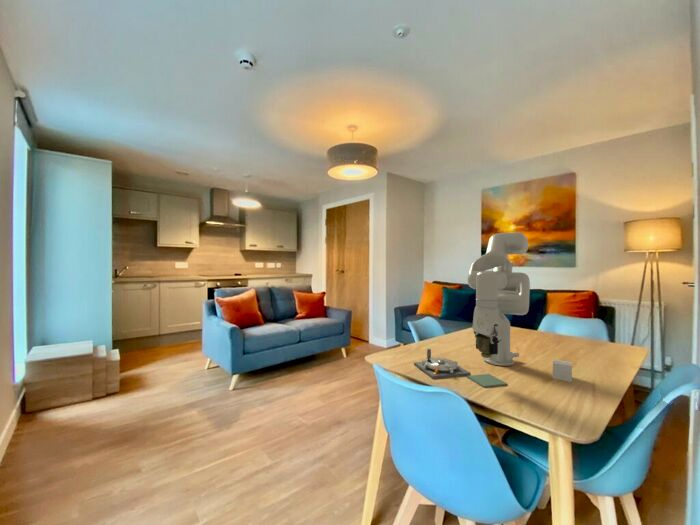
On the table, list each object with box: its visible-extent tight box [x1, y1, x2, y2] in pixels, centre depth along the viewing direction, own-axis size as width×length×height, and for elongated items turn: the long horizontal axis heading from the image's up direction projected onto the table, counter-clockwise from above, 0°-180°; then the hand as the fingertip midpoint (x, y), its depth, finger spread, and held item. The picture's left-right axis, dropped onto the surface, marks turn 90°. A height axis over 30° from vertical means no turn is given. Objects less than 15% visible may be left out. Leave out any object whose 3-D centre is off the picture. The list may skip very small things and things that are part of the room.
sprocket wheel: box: [421, 348, 461, 373], centre depth 127 cm, size 15×15×6 cm
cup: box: [475, 334, 494, 358], centre depth 115 cm, size 8×7×8 cm
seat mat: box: [466, 373, 508, 388], centre depth 115 cm, size 10×10×1 cm
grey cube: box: [552, 359, 573, 383], centre depth 118 cm, size 6×6×6 cm
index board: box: [413, 361, 471, 380], centre depth 127 cm, size 17×17×1 cm
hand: (486, 350), depth 114 cm, fingers closed on cup, 6 cm apart
